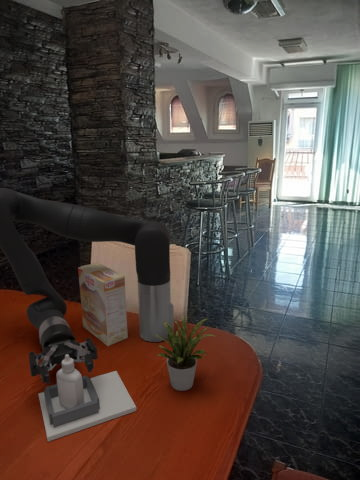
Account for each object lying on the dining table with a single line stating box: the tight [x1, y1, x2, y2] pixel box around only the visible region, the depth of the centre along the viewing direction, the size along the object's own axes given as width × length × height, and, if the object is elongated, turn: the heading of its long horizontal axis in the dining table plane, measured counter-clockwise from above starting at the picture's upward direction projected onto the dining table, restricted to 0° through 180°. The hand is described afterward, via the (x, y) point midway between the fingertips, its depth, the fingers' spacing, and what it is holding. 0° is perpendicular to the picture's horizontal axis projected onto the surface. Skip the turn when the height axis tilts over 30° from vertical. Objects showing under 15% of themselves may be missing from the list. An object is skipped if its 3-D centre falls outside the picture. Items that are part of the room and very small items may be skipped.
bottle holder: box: [38, 370, 137, 442], centre depth 80 cm, size 18×14×4 cm
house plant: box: [155, 313, 216, 392], centre depth 85 cm, size 14×14×16 cm
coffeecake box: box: [77, 262, 129, 347], centre depth 107 cm, size 15×7×20 cm, turn 41°
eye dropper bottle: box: [56, 354, 84, 409], centre depth 78 cm, size 4×6×12 cm
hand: (69, 374), depth 76 cm, fingers open, 8 cm apart
